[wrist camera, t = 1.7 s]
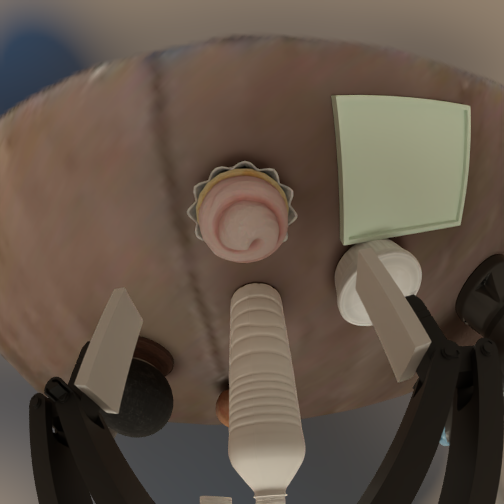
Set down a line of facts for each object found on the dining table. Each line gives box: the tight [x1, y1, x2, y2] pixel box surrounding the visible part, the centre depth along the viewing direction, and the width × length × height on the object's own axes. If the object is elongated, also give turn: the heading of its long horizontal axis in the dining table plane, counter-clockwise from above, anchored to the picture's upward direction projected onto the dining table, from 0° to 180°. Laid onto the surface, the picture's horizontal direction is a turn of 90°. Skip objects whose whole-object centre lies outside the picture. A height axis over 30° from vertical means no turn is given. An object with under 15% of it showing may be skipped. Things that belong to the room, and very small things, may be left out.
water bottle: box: [200, 283, 305, 504], centre depth 24 cm, size 9×6×25 cm
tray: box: [331, 95, 471, 245], centre depth 25 cm, size 18×16×1 cm
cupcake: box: [187, 161, 298, 263], centre depth 23 cm, size 9×9×10 cm
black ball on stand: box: [99, 336, 174, 437], centre depth 35 cm, size 13×13×15 cm
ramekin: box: [334, 238, 422, 326], centre depth 30 cm, size 11×11×5 cm
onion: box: [216, 389, 229, 427], centre depth 42 cm, size 10×9×10 cm
